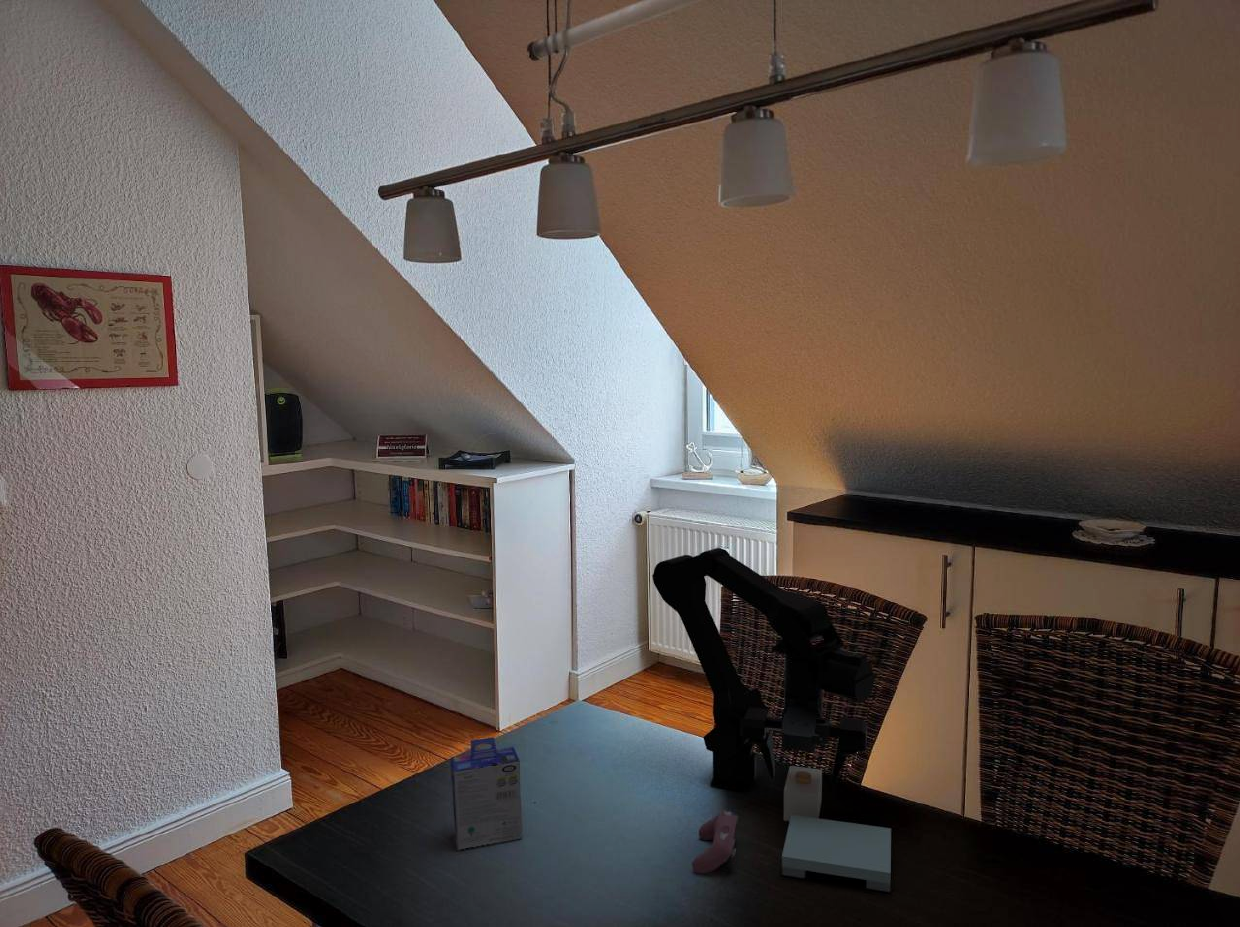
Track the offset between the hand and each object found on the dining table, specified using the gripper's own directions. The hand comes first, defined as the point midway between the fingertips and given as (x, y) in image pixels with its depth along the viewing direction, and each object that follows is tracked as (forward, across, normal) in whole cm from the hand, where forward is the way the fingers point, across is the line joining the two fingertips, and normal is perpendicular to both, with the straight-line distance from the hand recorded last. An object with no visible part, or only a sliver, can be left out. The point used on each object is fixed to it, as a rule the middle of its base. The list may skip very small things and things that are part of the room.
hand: (802, 781), depth 134 cm
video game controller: (+5, -10, -16) cm, 20 cm away
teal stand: (+4, +6, -13) cm, 15 cm away
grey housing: (+5, 0, 0) cm, 5 cm away
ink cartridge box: (+5, -44, -20) cm, 48 cm away
